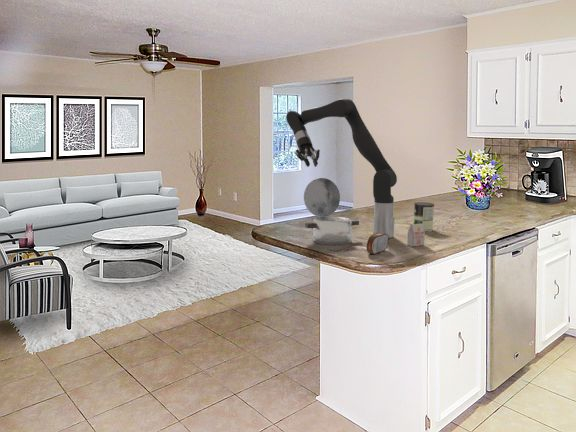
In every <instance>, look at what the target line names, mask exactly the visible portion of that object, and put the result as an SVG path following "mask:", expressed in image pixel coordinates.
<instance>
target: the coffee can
mask: <svg viewBox="0 0 576 432" xmlns="http://www.w3.org/2000/svg"><path fill="white" fill-rule="evenodd" d="M413 204H414V206H413V209H414V210H413V221H412V222H413V224H423V227H424V231H428V232H432V231H433V227H434V225H433V224H434V214H435V213H434V212H435V211H434V209H435V203H433V202H426V201H425V202H424V201H423V202H422V201H419V202H414V203H413Z"/></svg>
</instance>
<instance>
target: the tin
mask: <svg viewBox="0 0 576 432" xmlns="http://www.w3.org/2000/svg"><path fill="white" fill-rule="evenodd" d="M388 245H389V238H388V235H387V234H386V233H382V232H380V233H376V234H373V233H372V234H371V235H370V236H369V237H368V239H367V242H366V252H367V253H368V254H372V255H377V254H380V253H382V251H383V252H385V251H384V250H387V247H388ZM379 252H380V253H379Z"/></svg>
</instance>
